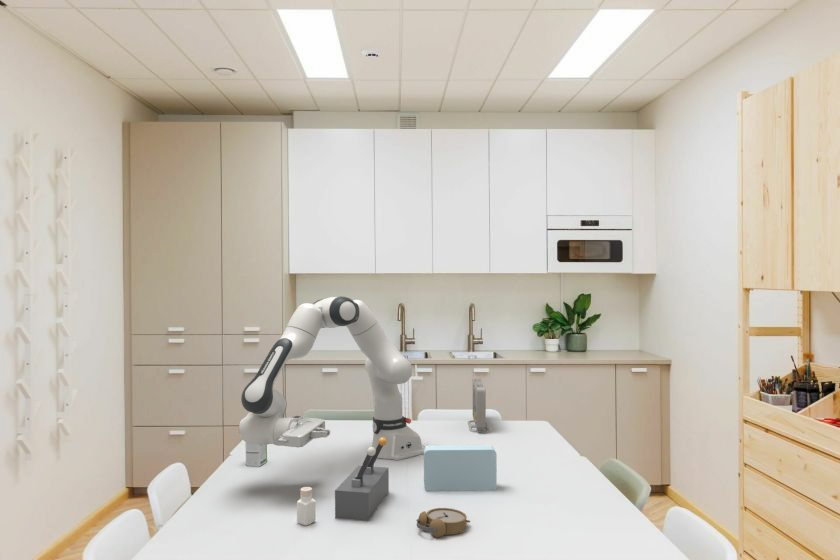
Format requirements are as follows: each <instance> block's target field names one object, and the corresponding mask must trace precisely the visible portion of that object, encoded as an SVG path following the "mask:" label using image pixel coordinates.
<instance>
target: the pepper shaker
mask: <svg viewBox="0 0 840 560" xmlns="http://www.w3.org/2000/svg"><path fill="white" fill-rule="evenodd" d="M299 492H300V498H299V500H297V502H296V522H297V523H298V524H301V525H303V526H308V525H310V524H312V523H314V522H316V517H317V516H316V512H317V510H316V506H317V505H316V503H317V502H316V500H315V499H314V498H313V497H312V496H313V488H312V487H311V486H303V487H301V488H300V491H299Z"/></svg>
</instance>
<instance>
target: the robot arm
mask: <svg viewBox="0 0 840 560" xmlns="http://www.w3.org/2000/svg"><path fill="white" fill-rule="evenodd" d="M339 327H346V328H347V329H348V332H349V333H350V335H351V336H352V339H354V342H355V343H356V345H357V346H358V348H359V350H360V351H361V352H362V353H363V354H364V355H365V356H366V359H365V361H364V369H365V371H366V372H367V375H368V377H369V382H370V386H371V390H372V396H373V417H372V432H373V434H372V441H371V442H372V443H371V447H374V448H375V450H376V448H377V446H378V444H379V439H380V438H381V437H384V438H386V440H387V443H386V445H384V446H383V447H382V449H381V451H380V453H379V455H378V457H377V459H385V460H389V459H390V460H395V461H400V460H404V459H408V458H412V457H415V456H419V455H424V448H425V447H426V446H425V445H423V444H422V439H421V436H420V435H419V433H417V432H416V431H415V430H414V429H412V428H411V427H410V426H408V424H411V423H412V419H411V418H410V417H405V416H403V396H402V394H401V392H400V390H399V387H398V385H403V384H405V383H408V382H409V381H410V379H411V378H412V374H413V366H412V363H411V362H410V361H409V360H408V359H407V358H406V357H405V356H404V355H403V354H402V353H401V352H400V350H399V349H398V348H397V347H396V345H394V343H392V341H391V340H390V339H389V337H388V336H387V335H386V333H385V331H384V330H383V328H382V327H381V325H380V323H379V321H378V320H377V318H376V316H375V315H374V314H373V312H372V310H371V309H370V308H369V307H368V306H367V304H366V303H365V302H364V301H363V300H361V299H353V300H352V299H351V298H350V297H346V296H341V295H340V296H330V297H327V298H324V299H323V298H322V299H318V300H316V301H314V302H313V303H308V302H304V303H302V304H300V305H298V307H297V308H296V309H295V311H294V312H293V314H292V315H291V317H290V319H289V321H288V323H287V325H286V327H285V329H284V330H283V333H282V335H281V336H280V338H279V339H278V340H277V341H276V342H275V343H274V344H273V346H272V347H271V349H270V350H269V352H268V354H267V356H266V357H265V359H264V360H263V363H262V364H261V366H260V368H259V369H258V371H257V373H256V374H255V376H254V377H253V378H252V379H251V380H250V382H248V384H247V385H246V386H245V387H244V388H243V390H242V393H241V401H240V402H241V404H242V407H243V408H244V409H245V410H246V411H247V412H248V413H247V414H246V416H245V417H243V418H242V419H241V420H240V422H239V425H238V433H239V436H240V438H241V440H243V442H247V443H251V444H259V445H267V446H268V445H274V446H277V447H278V446H279V447H280V446H281V447H289V448H290V447H291V448H304V447H305V446H306V445H307V444H308V443H310V442H311V441H313V440H314V439H321V438H328V437H329V436H330V435H331V429H327V428H326V421H325V419H324V418H315V417H303V415H296V416H292V417H291V416H289V417H284V416H285V413H286V409H287V399H286V397H285V396H284V395H283V394H282V393H281V392H279V390H276V389H275V387H274V386H275V382H276V380H277V378H278V376H279V375H280V373H281V371H282V369H283V368H284V365H285V364H286V363H287V362H288V361H290V360H292V359H300V358H304V357H306V356H308V354H309V353H310V352H311V350H312V348H313V346H314V345H315V342H316V339H317V337H318V335H319V332H320V330H321V329H324V328H328V329H335V328H339Z"/></svg>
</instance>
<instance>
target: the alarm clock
mask: <svg viewBox="0 0 840 560" xmlns="http://www.w3.org/2000/svg"><path fill="white" fill-rule="evenodd" d="M415 521H416V527H417V529H419V530H422V531H424V532H425V531H426V532H430V534H431V535H432V536H433V537H435V538H441V537H443V536H445V535H458V533H459V534H461V532H462V533H464V532H465V531H466V530H465V529H467V523H471V520H469V519H467V515H466V513H464V512H463V511H461V510H458V509H456V508H455V509H454V508H450V507H437V508H432V509H429V510H427V511H421V512H420V513H419V515H418V518H417V519H416V520H415ZM464 530H465V531H464ZM463 531H464V532H463Z"/></svg>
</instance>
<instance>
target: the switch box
mask: <svg viewBox="0 0 840 560" xmlns="http://www.w3.org/2000/svg"><path fill="white" fill-rule="evenodd" d="M374 465H375V464H374ZM374 465H373V467H372V468H371V467H367V468H366V471H365V473H364V475H363V477H362V479H361V481H360V479H356V477H357V475H358V473H359V471H360V469H361V466H362V465H358V466H357V467H355V469H354V470H353V471H352V472H351V473H350V474H349V475H347V477H346V478H345V479H344V480H343V481H342V482H341V483H340V484H339V485H338V487H337V488H336V489H335V490H334V506H335V507H334V519H343V520H353V521H354V520H355V521H364V522H369V521H370V520H371V518H372V517H373V515H374V514H375V512H376V511H377V510H378V508H379V507H380V505H381V504H382V502H383V501H384V500H385V498H386V497H387V496H388V495H389V492H390V488H389V487H390V485H389V484H390V483H389V479H390V478H389V477H390V476H389V475H390V474H389V472H390V471H389V467H386V466H384V467H383V466H374Z"/></svg>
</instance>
